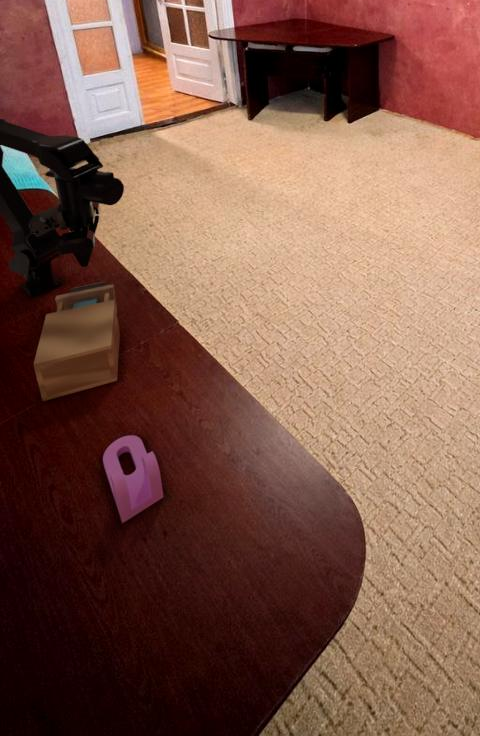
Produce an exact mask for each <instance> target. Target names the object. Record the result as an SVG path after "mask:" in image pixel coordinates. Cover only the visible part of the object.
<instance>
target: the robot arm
mask: <svg viewBox="0 0 480 736" xmlns="http://www.w3.org/2000/svg"><path fill="white" fill-rule="evenodd" d="M2 146H3V147H5V148H8V149H11V150H14V151H17V152H21V153H23V154H25V155H28V156H32V157H34V158H36V159H37V160H38V162H39V164H40V165H41V166H43V167H45V168H46V169H49V170H48V171H47V172H45V176H46V177H48V178H52V179H53V178H54V183H55V188H56V193H57V198H58V205H56V206H53V207H49V208H47V209H45V210H43V211H40V212H37V213H36V214H34V213H33V212H32V210H31V209H30V207H29V205H28V204H27V202H26V200H25V199H24V197H23V196H22V194H21V193H20V191H19V190H18V188H17V187H16V185H15V183H14V182H13V180H12V178H10V176H9V174H8V173H7V171H6V169H5V168H4V167H3V162H4V150H3V148H2ZM83 163H85V164H83ZM81 164H83V165H81ZM79 165H81V166H79ZM77 166H79V167H77ZM75 167H76V168H75ZM103 167H104V165H103V163H102V162H101V160H100V158H99V156H97V155H96V154H95V153H94V151H93V150H92V149H91V147H90V146H89V145H88V144H87V143H86V141H85V140H84V139H83V138H81V137H79V136H73V135H66V134H65V135H48V134H45V133H42V132H39V131H36V130H33V129H30V128H27V127H23V126H20V125H17V124H14V123H11V122H9V121H8V119H7V120H6V119H4V118H0V215H1V217H2V219H3V220H4V222H5V223H6V225H7V227H8V228H9V229H10V231H11V232H12V241H11V248H12V250H13V253H14V256H13V257H12V258H11V259H10V261H8V263H7V267H8V268H9V270H10V272H11V273H15V274H19V275H22V276H23V281H24V282H23V283H21V284H19V288H20V289H21V290H23V292H25V294H27V295H28V296H29V297H30V298H35V297H36V296H39V295H41V294H43V293H45V292H49V291H50V290H52V289H55V288H56V287H59V286H61V285H63V281H62V280H61V279H60V278H58V277H57V276H56V275H55V270H54V264H53V260H55V259H57V258H58V257H61V256H64V255H69V254H70V255H71V254H73V256H74V257H75V259H76V260H77V262H78V264H79V265H80V266H81V267H82V268H85V267H88V266H89V263H90V260H91V257H92V254H93V252H94V251H93V250H94V248H95V245H96V241H97V240H96V239H97V237H96V236H95V235H96V231H97V229H98V225H99V220H100V212H101V206H100V205H105V206H114V205H116V204H117V203H118V202H120V200H121V199H122V197H123V195H124V193H125V192H124V191H125V186H124V185H125V184H124V183H123V182H122V181H121V179H120V178H117V177H115V175H114V172H111V171H101V170H100V169H102V168H103ZM58 228H59V231H65V230H68V232H63V233H61V235H60V234H59V233H58V232H57V230H56V229H58Z"/></svg>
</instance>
